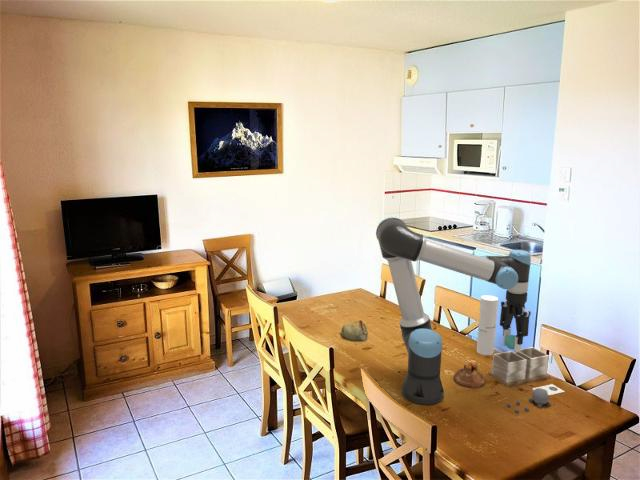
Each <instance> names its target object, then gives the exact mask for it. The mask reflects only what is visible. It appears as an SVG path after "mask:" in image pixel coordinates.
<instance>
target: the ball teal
mask: <svg viewBox="0 0 640 480" xmlns="http://www.w3.org/2000/svg"><path fill="white" fill-rule="evenodd" d="M515 335H516V334H515ZM515 335H514V334H511V335H509V336H508V337H507V338H506V339H505V344H506V346H505V347H507V348H508V349H510V350H514V344H515Z"/></svg>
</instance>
